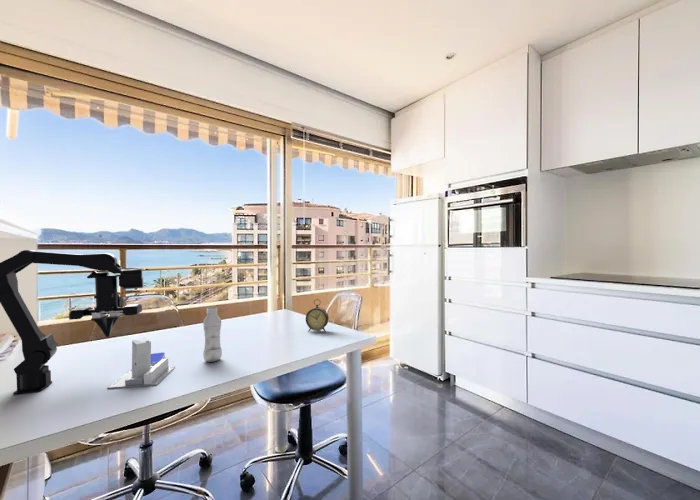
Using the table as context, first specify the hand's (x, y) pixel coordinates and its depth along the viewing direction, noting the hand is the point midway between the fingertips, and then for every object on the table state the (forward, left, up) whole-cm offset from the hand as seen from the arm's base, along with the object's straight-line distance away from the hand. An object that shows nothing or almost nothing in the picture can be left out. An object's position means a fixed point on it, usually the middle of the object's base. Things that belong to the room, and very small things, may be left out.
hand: (108, 336), depth 104 cm
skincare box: (+11, -6, -13) cm, 18 cm away
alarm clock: (+78, +26, -13) cm, 83 cm away
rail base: (+11, -7, -13) cm, 19 cm away
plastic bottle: (+32, +2, -13) cm, 35 cm away
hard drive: (+10, +7, -13) cm, 18 cm away
